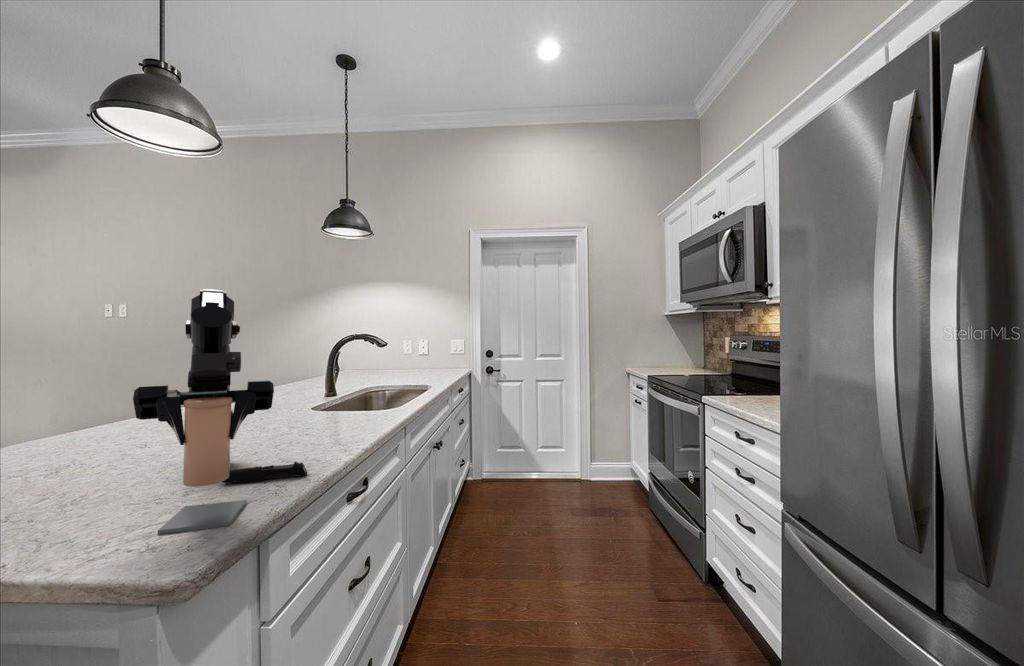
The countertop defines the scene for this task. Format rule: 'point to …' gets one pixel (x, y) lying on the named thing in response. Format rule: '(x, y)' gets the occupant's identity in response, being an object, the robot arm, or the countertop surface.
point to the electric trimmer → (266, 473)
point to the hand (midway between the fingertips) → (207, 440)
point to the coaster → (203, 517)
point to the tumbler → (206, 440)
